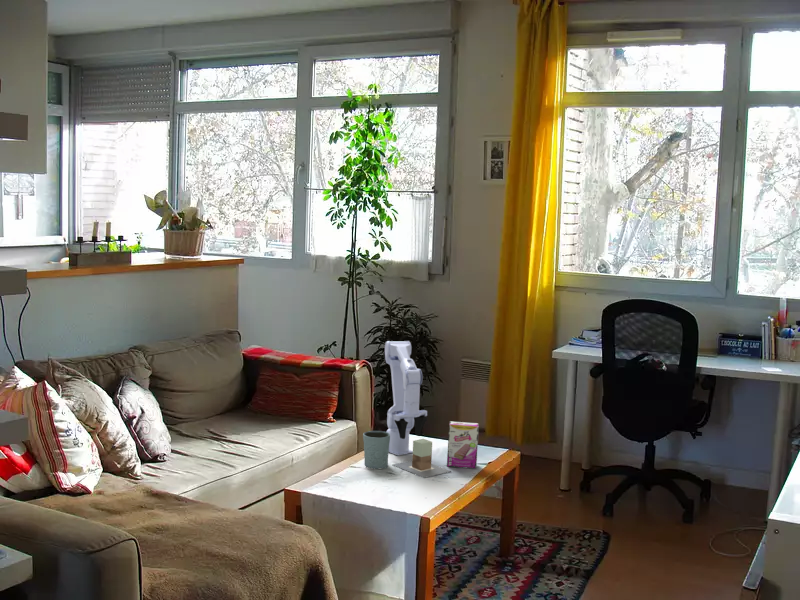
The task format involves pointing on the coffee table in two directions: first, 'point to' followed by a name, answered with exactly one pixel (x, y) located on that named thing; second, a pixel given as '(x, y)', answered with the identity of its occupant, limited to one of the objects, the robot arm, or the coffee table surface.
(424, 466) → the walnut block
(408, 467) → the board
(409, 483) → the coffee table surface
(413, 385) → the robot arm
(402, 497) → the coffee table surface
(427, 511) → the coffee table surface
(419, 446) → the sage block
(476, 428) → the candy bar box
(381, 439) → the green plant pot
